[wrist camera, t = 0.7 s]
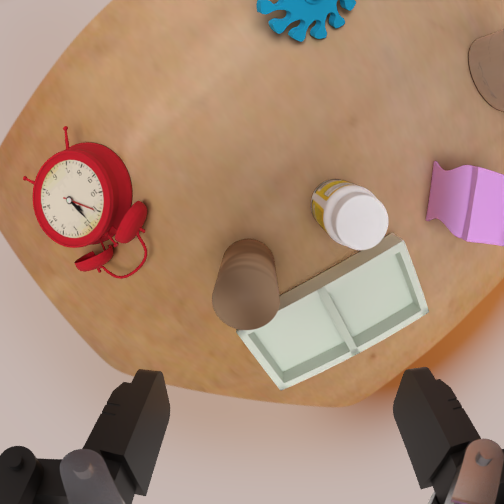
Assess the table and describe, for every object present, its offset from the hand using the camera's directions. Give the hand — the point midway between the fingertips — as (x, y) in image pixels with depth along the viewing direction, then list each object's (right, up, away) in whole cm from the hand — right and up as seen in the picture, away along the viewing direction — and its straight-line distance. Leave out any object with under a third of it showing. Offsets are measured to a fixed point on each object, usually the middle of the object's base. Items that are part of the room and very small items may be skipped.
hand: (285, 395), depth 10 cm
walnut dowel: (-1, +3, +22) cm, 22 cm away
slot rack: (+8, -2, +23) cm, 24 cm away
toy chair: (+21, +11, +19) cm, 30 cm away
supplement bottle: (+7, +9, +20) cm, 23 cm away
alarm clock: (-17, +9, +20) cm, 28 cm away
